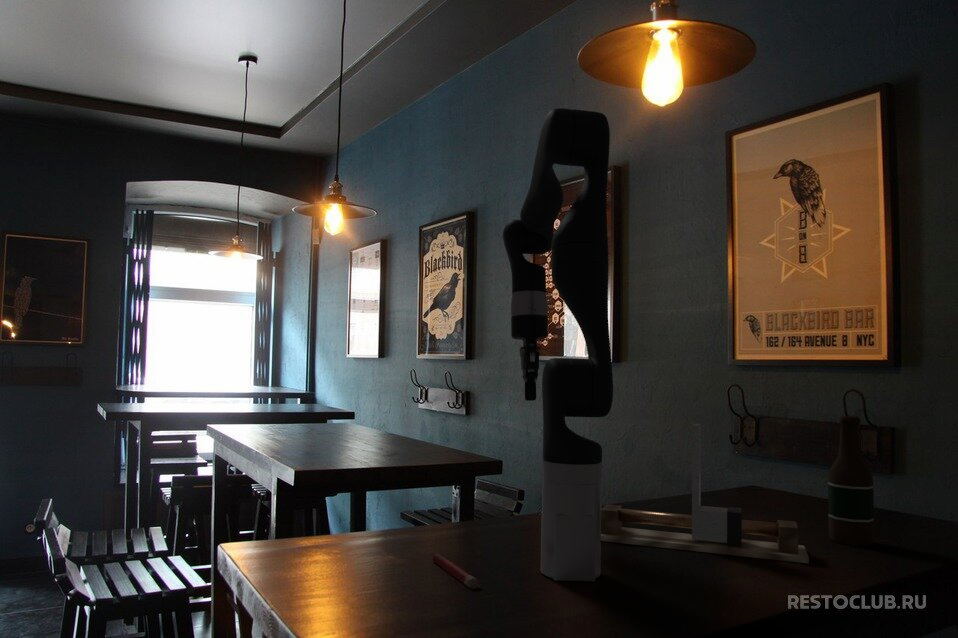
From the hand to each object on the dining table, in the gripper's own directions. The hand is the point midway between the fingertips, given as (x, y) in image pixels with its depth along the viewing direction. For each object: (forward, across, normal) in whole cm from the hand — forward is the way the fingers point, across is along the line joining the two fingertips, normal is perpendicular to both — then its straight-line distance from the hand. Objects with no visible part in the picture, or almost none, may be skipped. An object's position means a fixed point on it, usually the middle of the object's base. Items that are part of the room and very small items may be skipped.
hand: (530, 400), depth 143 cm
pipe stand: (+27, -9, -29) cm, 41 cm away
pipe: (+24, -10, -29) cm, 39 cm away
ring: (+26, -12, -35) cm, 45 cm away
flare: (+28, -31, +15) cm, 44 cm away
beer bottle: (+28, -3, -61) cm, 67 cm away
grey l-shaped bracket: (+25, -10, -32) cm, 42 cm away
